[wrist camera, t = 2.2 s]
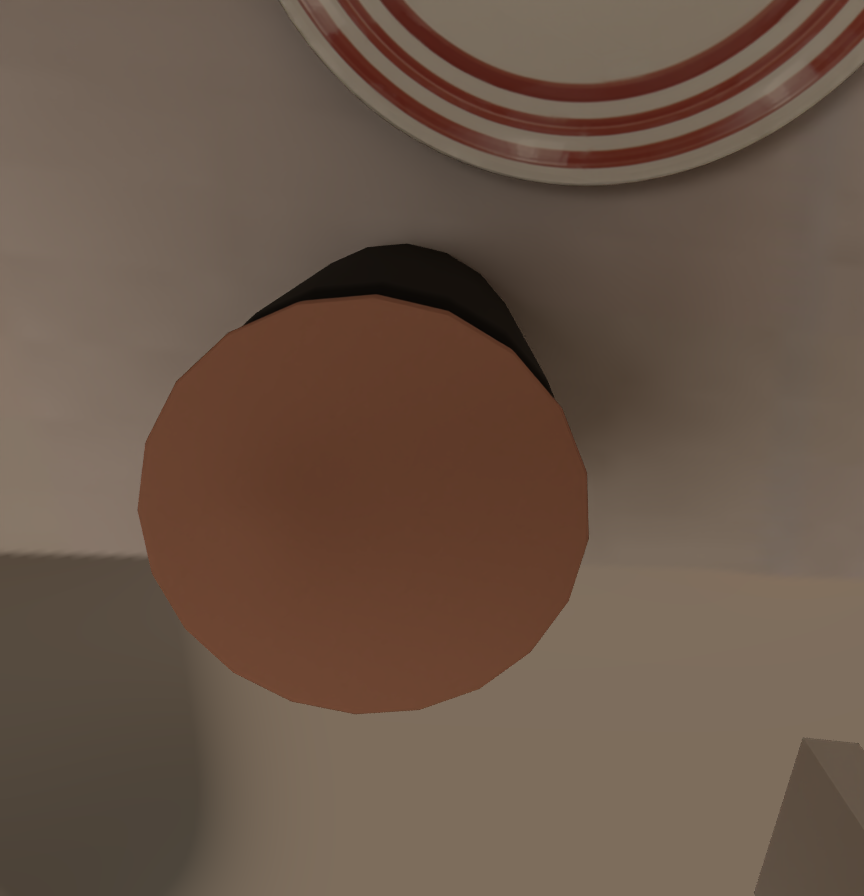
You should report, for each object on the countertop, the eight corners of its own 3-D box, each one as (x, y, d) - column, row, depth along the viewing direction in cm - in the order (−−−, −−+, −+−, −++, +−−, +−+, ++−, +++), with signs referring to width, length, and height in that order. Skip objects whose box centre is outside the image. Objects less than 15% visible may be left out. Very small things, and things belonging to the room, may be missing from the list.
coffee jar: (322, 494, 37) (221, 753, 20) (253, 275, 34) (62, 362, 17) (540, 444, 36) (628, 670, 19) (490, 214, 33) (541, 239, 16)
